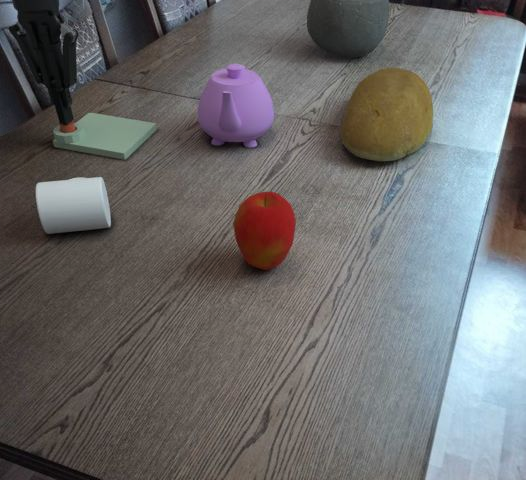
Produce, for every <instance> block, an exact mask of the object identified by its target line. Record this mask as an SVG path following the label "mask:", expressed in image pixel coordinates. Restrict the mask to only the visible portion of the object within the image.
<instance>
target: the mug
mask: <svg viewBox="0 0 526 480" xmlns="http://www.w3.org/2000/svg"><path fill="white" fill-rule="evenodd" d="M35 202H36V203H35V204H36V209H37V213H38V217H39V221H40V224H41V226H42V229H43V231H44V233H46V234H48V235H52V234H63V233H70V232H71V233H72V232H81V231H90V230H91V231H92V230H100V229H101V230H102V229H110V228H111V226H112V220H111V219H112V218H111V209H110V203H109V198H108V192H107V187H106V183H105V180H104V178H103V177H101V176H97V177H73V178H69V179H63V180H51V181H41V182H40V181H39V182H37V183H36V185H35Z"/></svg>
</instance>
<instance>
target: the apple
mask: <svg viewBox="0 0 526 480" xmlns="http://www.w3.org/2000/svg"><path fill="white" fill-rule="evenodd" d="M232 224H233V231H234V238H235V241H236V244H237V246H238V249H239V251H240V253H241V255H242V257H243V260H244V261H245V262H246V263H247V264H248V265H250V266H253V267H255V268H257V269H259V270H261V271H262V270H263V271H268V270H271V269H274V268H275V267H277V266H279V265H281V264H282V263H283V262H284V261H285V260H286V258H287V257H288V254H289V253H290V250H291V248H292V247H293V245H294V238H295V233H296V225H297V220H296V216H295V212H294V209H293V207H292V204H291V203H290V202H289V201H288V200H287V199H286V198H284V197H283V196H282V195H281V194H280V193H277V192H274V191H261V192H256V193H255V194H252V195H250V196H248V197H247V198H245V199H244V200H243V201H242V203H240V204H239V206H238V208H237V211H236V214H235V215H234V219H233V222H232Z"/></svg>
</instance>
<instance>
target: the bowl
mask: <svg viewBox="0 0 526 480" xmlns="http://www.w3.org/2000/svg"><path fill="white" fill-rule="evenodd" d="M389 18H390V0H309V4H308V9H307V14H306V29H307V32H308V35H309V37H310V38H311V40H312V42H313V43H314V44H315V45H316V46H317V47H318V48H319V49H321V50H322V51H324V52H325V53H328V54H330V55H332V56H335V57H340V58H347V59H352V58H355V59H356V58H360V57H364V56H366V55H368V54H369V53H372V52H373V51H374V50H376V48H378V46H379V45H380V44H381V43H382V41H383V39H384V37H385V35H386V33H387V30H388V25H389V20H390V19H389Z"/></svg>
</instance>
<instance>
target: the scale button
mask: <svg viewBox="0 0 526 480" xmlns="http://www.w3.org/2000/svg"><path fill="white" fill-rule="evenodd" d="M74 123H75V122H74V120H73V121H71V122H70V123H69V124H67V125H62V124H60V123H59V124H58V125H60V129H61V132H62V133H71V132H74V131H76V129H75V125H74Z"/></svg>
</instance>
